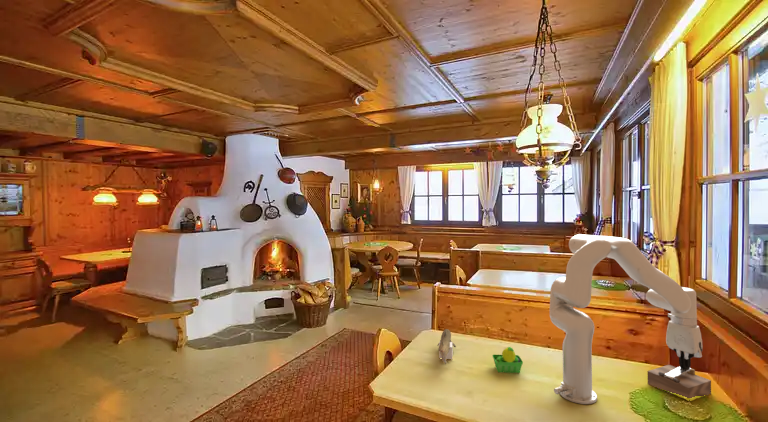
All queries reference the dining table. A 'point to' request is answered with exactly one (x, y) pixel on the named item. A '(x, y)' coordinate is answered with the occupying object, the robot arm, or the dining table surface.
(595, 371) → the dining table surface
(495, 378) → the dining table surface
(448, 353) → the wood carving
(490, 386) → the dining table surface
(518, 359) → the fruit basket
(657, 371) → the walnut box
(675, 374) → the steel strap
